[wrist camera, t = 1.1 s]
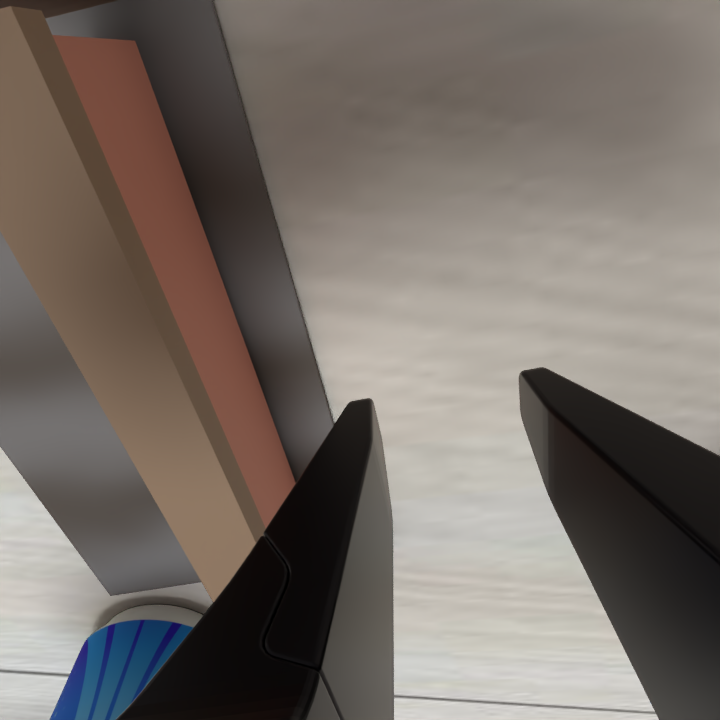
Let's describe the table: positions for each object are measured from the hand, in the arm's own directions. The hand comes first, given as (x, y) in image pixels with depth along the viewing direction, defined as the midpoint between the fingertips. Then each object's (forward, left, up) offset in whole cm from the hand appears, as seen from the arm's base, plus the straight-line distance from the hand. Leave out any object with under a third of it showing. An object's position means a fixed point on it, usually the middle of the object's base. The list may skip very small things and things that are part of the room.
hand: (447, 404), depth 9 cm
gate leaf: (-3, +7, -9) cm, 12 cm away
